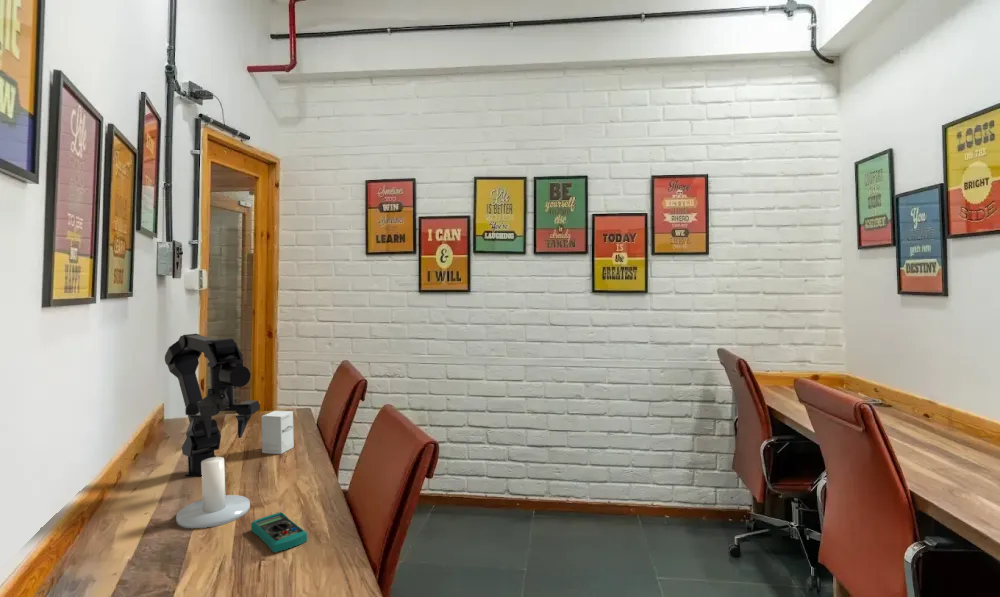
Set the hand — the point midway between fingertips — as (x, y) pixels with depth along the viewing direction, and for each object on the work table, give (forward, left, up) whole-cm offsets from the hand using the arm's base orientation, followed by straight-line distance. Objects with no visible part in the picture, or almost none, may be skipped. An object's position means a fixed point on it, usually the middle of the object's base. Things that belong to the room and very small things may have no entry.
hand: (224, 437), depth 149 cm
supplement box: (+2, +28, -13) cm, 31 cm away
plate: (+8, -19, -13) cm, 24 cm away
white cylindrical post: (+8, -19, -12) cm, 24 cm away
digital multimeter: (+29, -30, -14) cm, 44 cm away
